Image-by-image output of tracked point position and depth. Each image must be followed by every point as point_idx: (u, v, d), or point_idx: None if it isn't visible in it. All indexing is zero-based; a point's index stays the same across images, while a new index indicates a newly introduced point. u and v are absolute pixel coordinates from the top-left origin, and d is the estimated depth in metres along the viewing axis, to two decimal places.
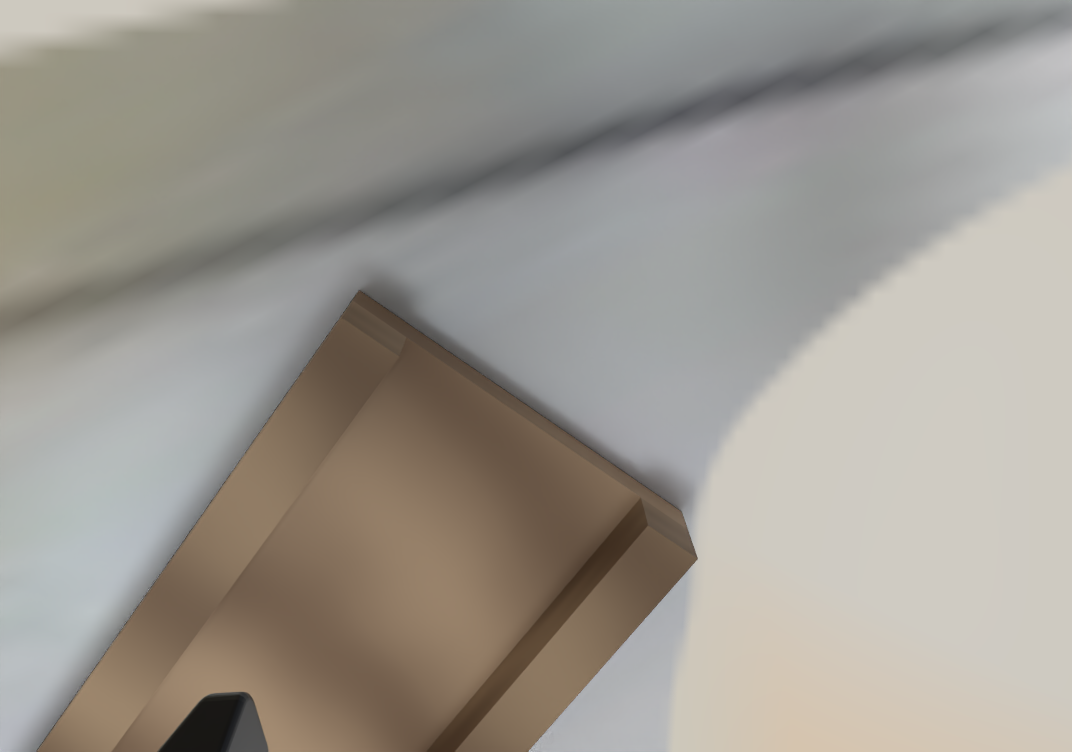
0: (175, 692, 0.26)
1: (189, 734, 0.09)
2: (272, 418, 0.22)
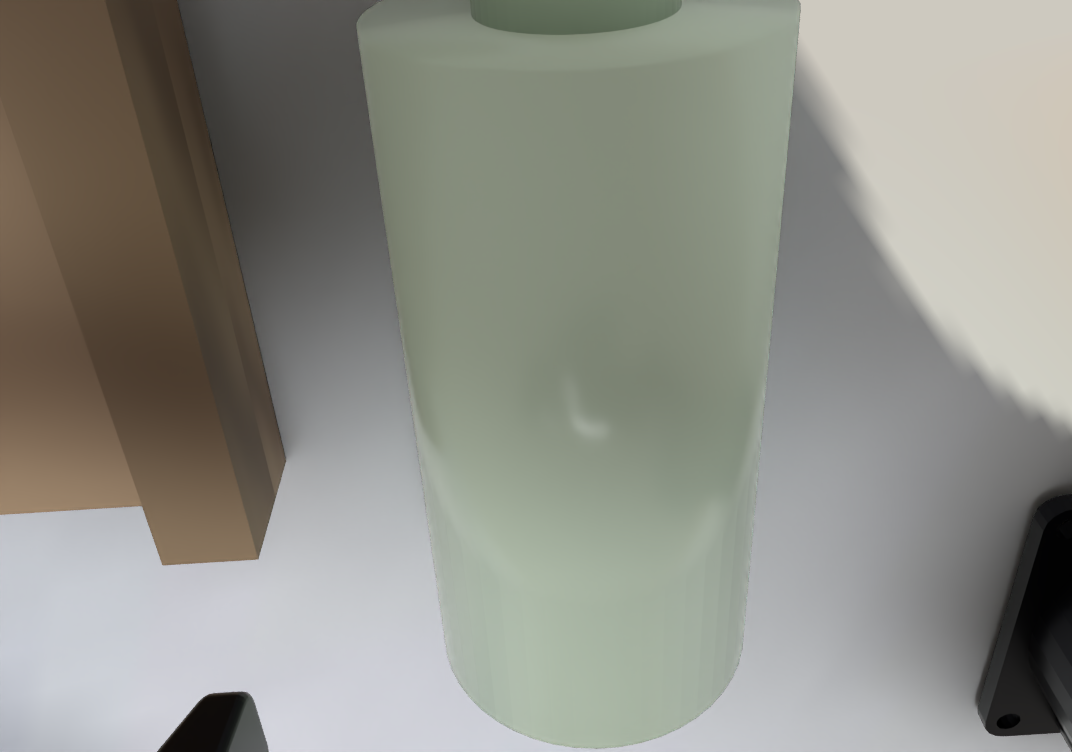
0: None
1: (188, 734, 0.09)
2: None
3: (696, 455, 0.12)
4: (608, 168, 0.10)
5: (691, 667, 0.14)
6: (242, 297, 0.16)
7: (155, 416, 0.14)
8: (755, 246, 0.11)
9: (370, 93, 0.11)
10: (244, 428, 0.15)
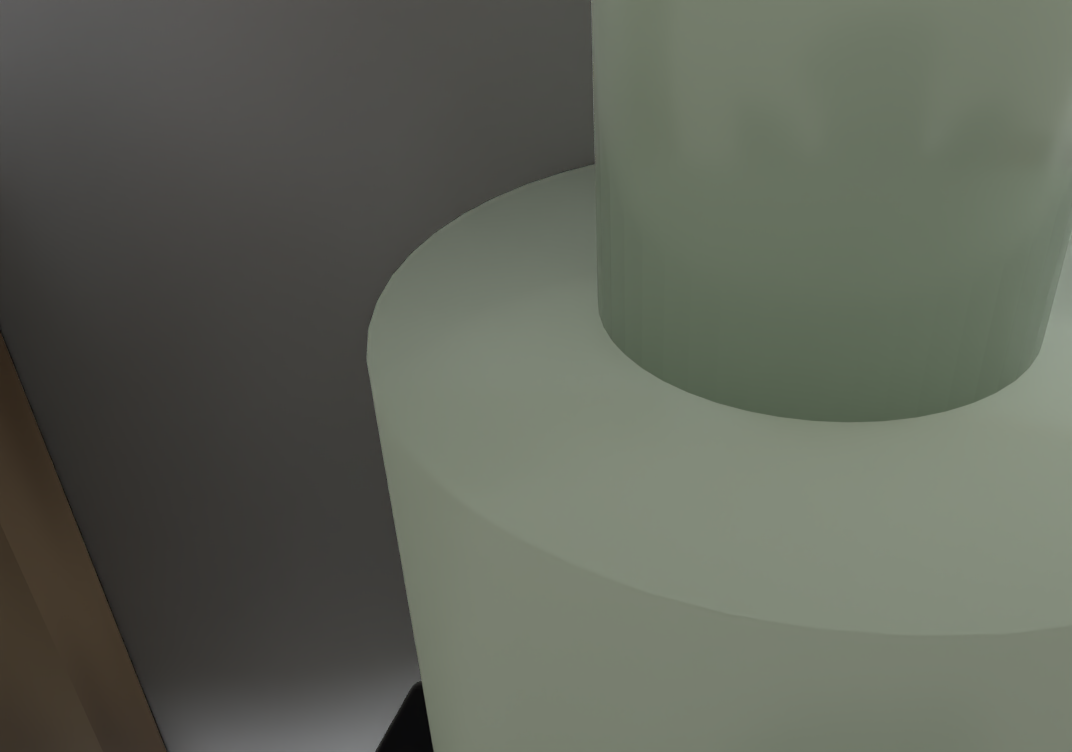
0: None
1: (411, 720, 0.09)
2: None
3: None
4: None
5: None
6: (106, 633, 0.10)
7: None
8: None
9: (472, 598, 0.05)
10: None
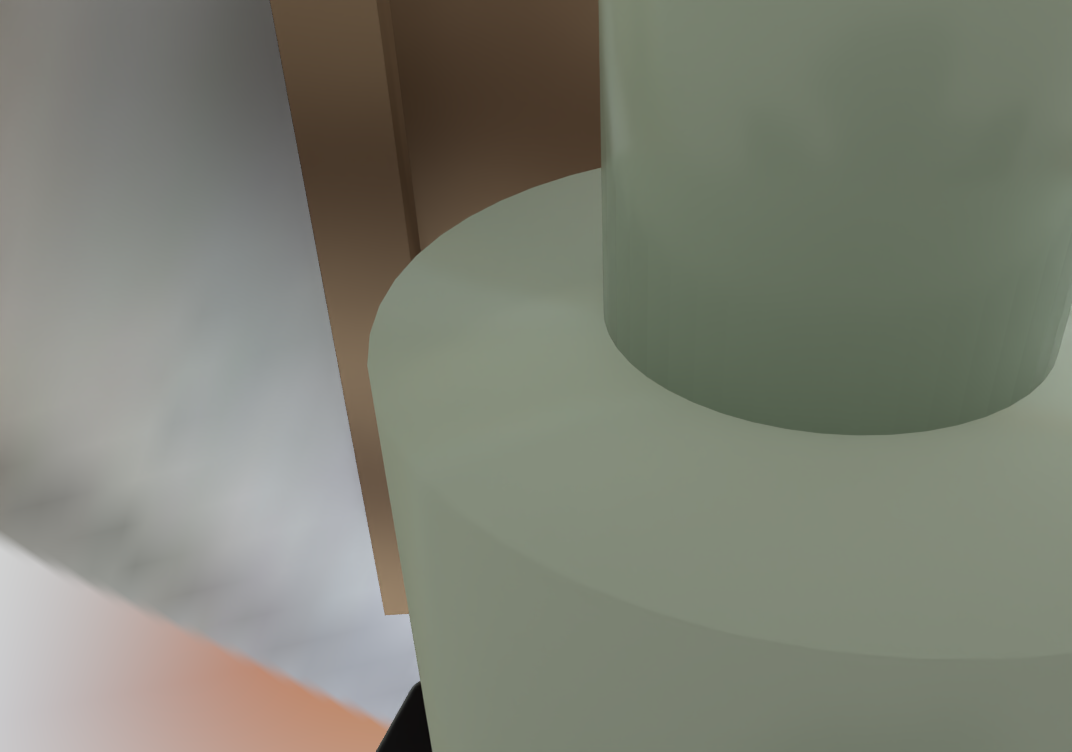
0: None
1: (411, 720, 0.09)
2: None
3: None
4: None
5: None
6: None
7: None
8: None
9: (470, 610, 0.05)
10: None
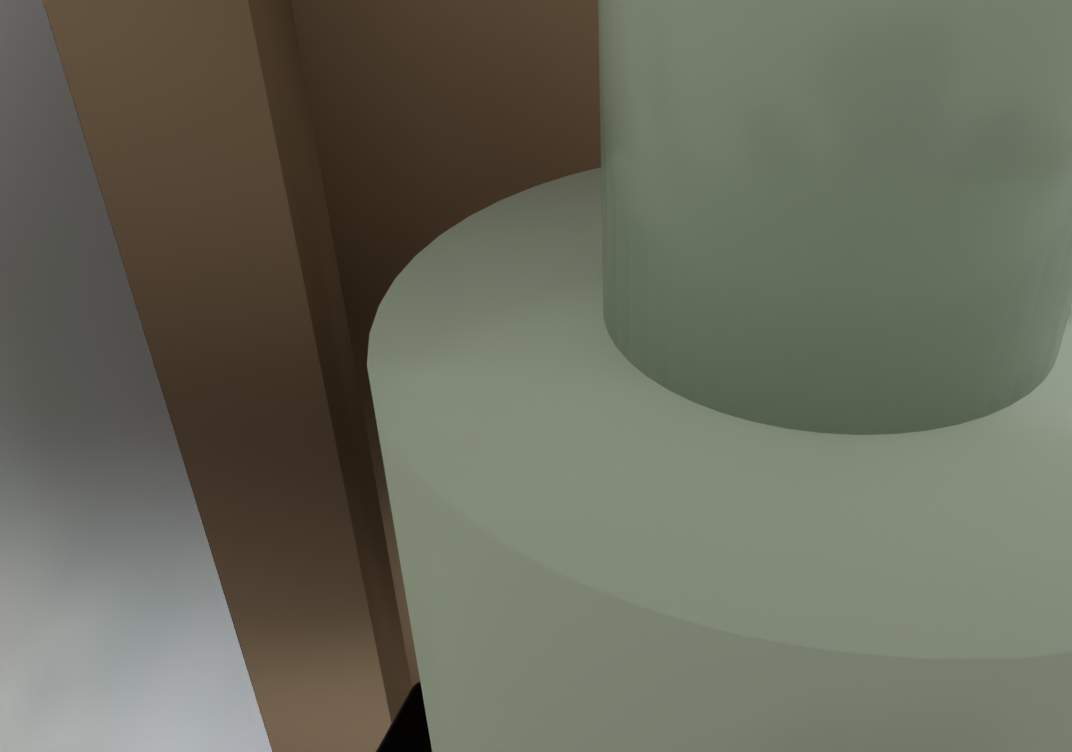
0: None
1: (411, 720, 0.09)
2: None
3: None
4: None
5: None
6: None
7: None
8: None
9: (470, 610, 0.05)
10: None
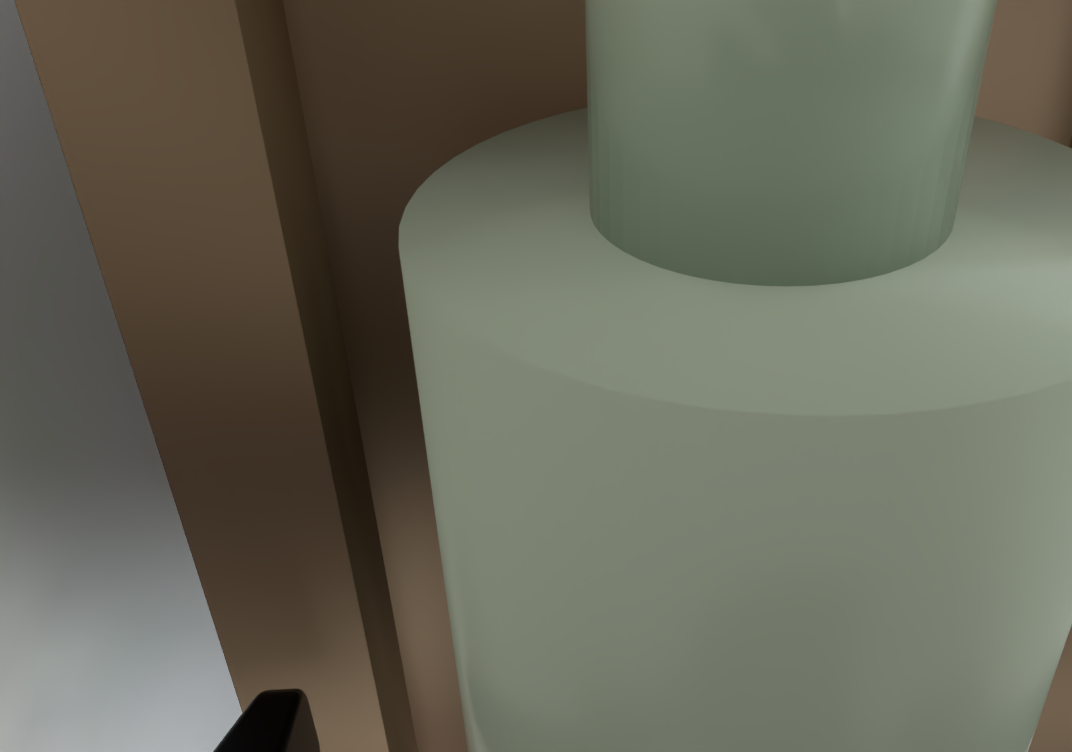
0: (438, 605, 0.12)
1: (246, 730, 0.09)
2: None
3: None
4: (1018, 535, 0.05)
5: None
6: None
7: None
8: None
9: (484, 424, 0.06)
10: None
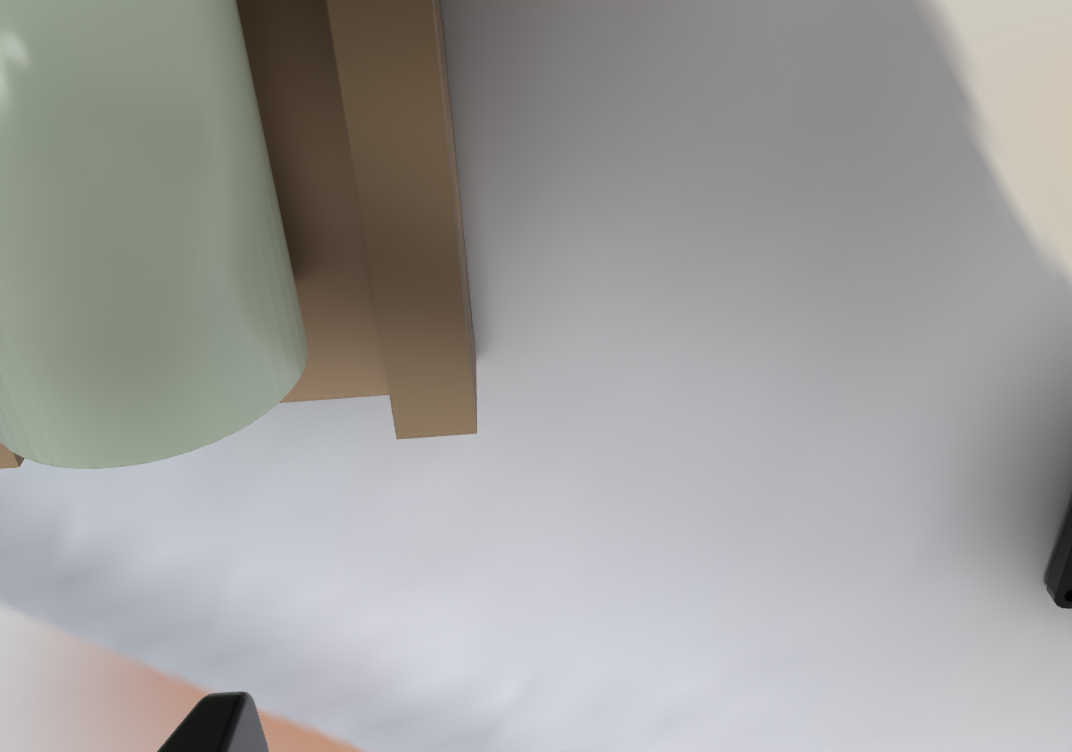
0: None
1: (188, 734, 0.09)
2: None
3: (146, 90, 0.12)
4: None
5: (225, 357, 0.14)
6: None
7: (411, 305, 0.17)
8: None
9: None
10: (468, 322, 0.18)
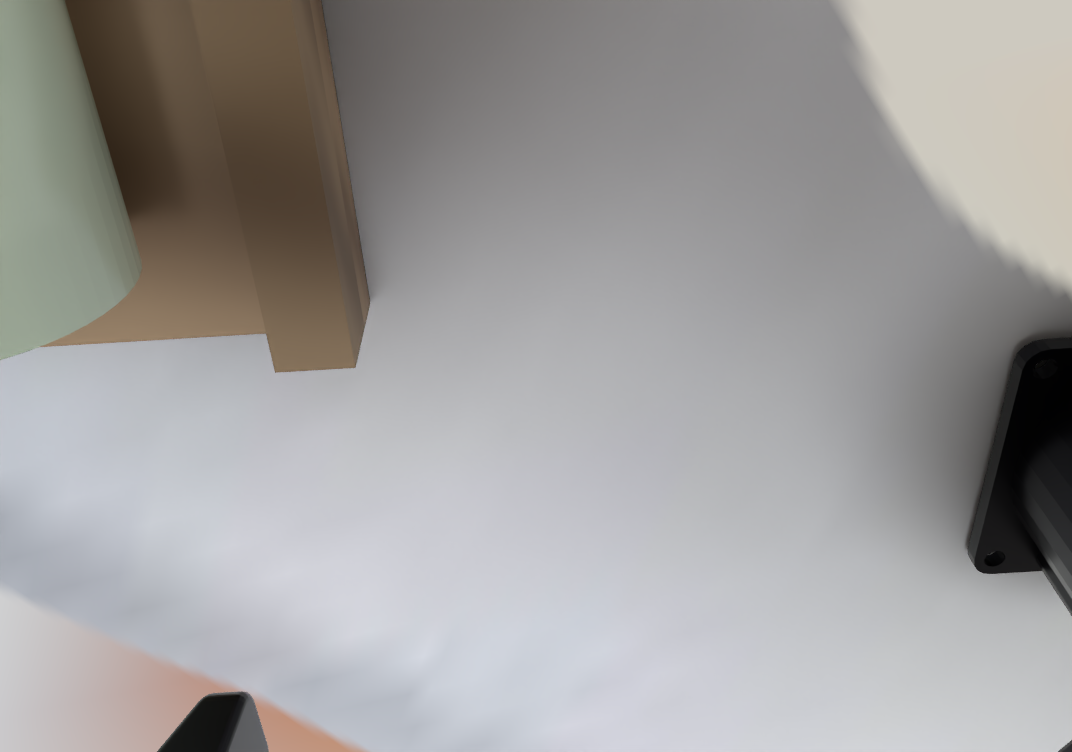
0: None
1: (189, 734, 0.09)
2: None
3: None
4: None
5: None
6: (342, 147, 0.19)
7: (279, 231, 0.17)
8: None
9: None
10: (345, 255, 0.18)
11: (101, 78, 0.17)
